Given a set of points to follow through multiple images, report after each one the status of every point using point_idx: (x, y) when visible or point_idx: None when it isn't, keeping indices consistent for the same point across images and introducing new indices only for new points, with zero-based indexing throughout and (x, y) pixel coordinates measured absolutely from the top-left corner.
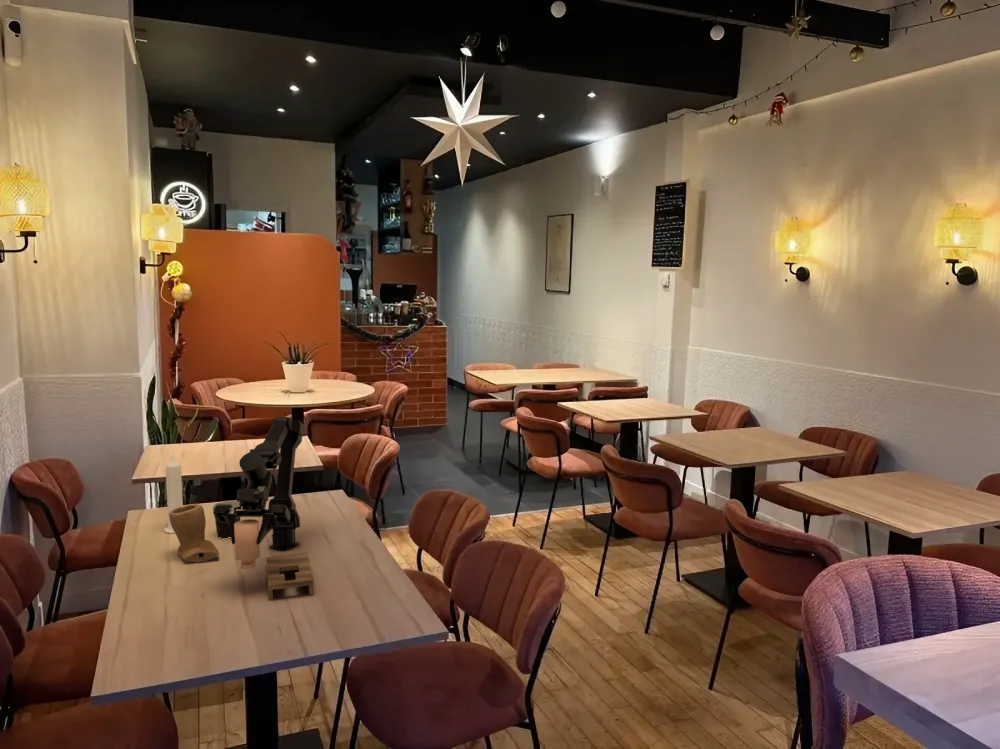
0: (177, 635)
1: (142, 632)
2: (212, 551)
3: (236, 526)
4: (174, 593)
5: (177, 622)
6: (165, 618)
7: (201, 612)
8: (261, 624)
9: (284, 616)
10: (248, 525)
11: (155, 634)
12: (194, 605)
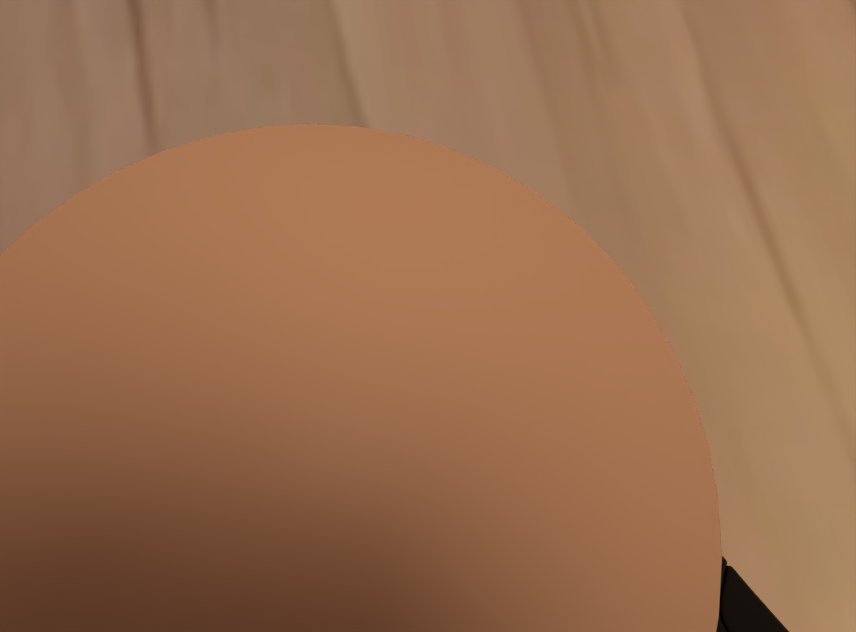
0: (635, 8)
1: (794, 59)
2: None
3: (585, 237)
4: (816, 474)
5: (676, 123)
6: (746, 172)
7: (594, 206)
8: (289, 37)
9: (185, 93)
10: (218, 249)
11: (731, 32)
12: (653, 293)
